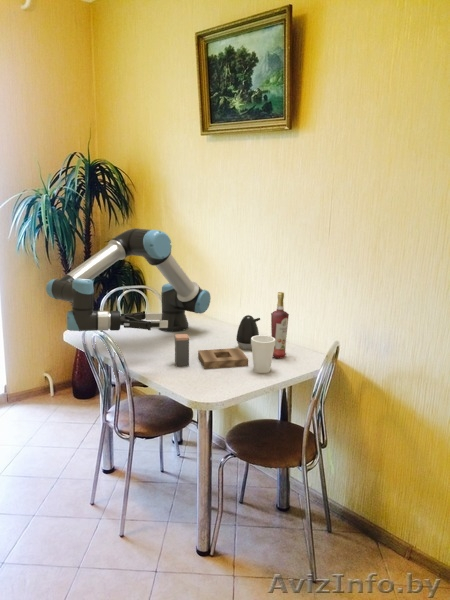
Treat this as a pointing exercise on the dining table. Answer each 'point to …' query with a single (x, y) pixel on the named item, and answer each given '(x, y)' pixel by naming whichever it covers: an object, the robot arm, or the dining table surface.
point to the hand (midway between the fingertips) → (164, 320)
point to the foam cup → (262, 352)
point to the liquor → (279, 328)
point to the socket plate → (222, 358)
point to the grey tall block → (181, 350)
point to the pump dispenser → (247, 332)
